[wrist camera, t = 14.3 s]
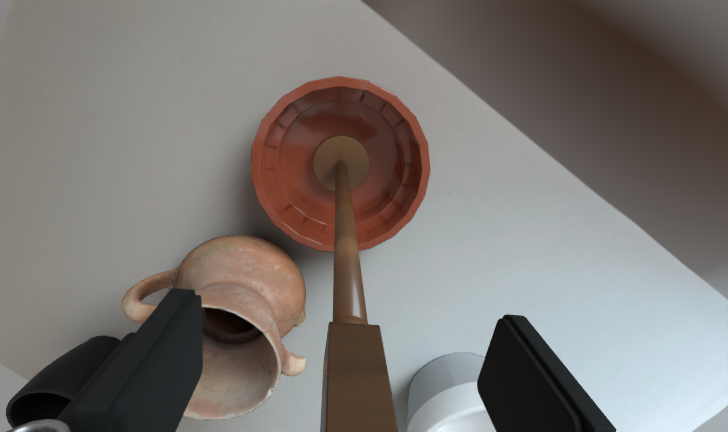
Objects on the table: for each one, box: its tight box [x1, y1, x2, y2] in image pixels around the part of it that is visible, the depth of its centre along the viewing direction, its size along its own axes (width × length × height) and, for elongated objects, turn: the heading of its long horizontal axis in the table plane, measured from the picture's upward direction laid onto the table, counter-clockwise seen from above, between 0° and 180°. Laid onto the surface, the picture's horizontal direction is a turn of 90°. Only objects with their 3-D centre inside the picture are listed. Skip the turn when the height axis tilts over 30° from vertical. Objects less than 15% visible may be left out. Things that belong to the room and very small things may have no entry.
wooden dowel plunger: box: [313, 134, 398, 432], centre depth 22 cm, size 6×6×32 cm
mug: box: [6, 336, 121, 428], centre depth 40 cm, size 8×12×10 cm
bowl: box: [407, 353, 496, 432], centre depth 46 cm, size 19×19×11 cm
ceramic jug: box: [122, 235, 306, 420], centre depth 35 cm, size 18×14×14 cm
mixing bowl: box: [251, 76, 430, 252], centre depth 35 cm, size 17×17×6 cm
